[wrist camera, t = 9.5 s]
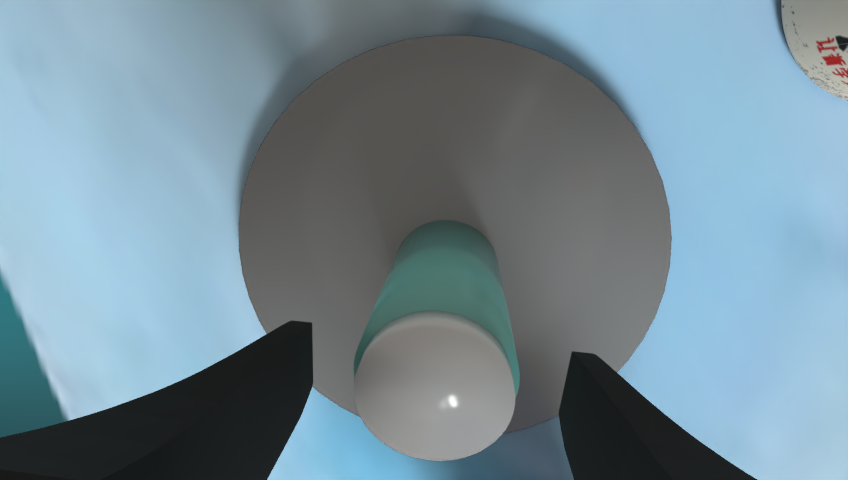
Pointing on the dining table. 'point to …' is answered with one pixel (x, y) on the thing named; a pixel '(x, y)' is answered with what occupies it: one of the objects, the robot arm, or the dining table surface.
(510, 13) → the dining table surface
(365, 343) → the pepper shaker
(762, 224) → the dining table surface
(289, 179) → the slate plate
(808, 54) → the teacup with lid
